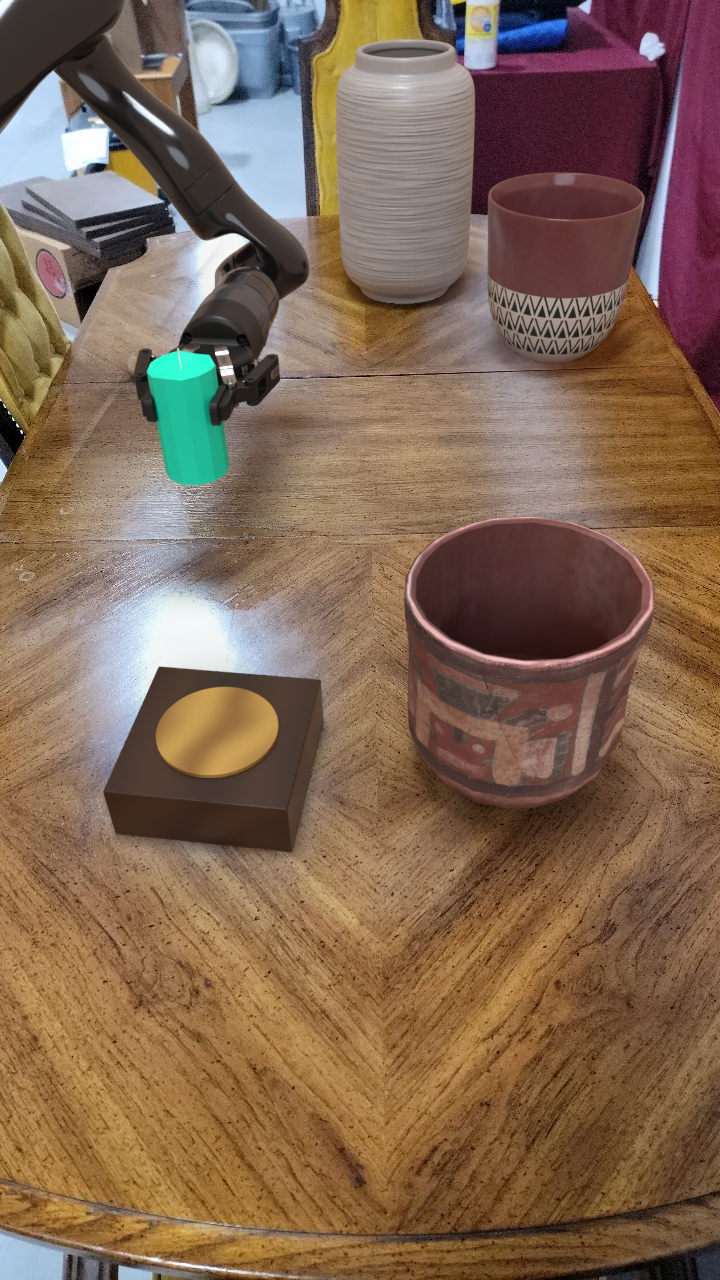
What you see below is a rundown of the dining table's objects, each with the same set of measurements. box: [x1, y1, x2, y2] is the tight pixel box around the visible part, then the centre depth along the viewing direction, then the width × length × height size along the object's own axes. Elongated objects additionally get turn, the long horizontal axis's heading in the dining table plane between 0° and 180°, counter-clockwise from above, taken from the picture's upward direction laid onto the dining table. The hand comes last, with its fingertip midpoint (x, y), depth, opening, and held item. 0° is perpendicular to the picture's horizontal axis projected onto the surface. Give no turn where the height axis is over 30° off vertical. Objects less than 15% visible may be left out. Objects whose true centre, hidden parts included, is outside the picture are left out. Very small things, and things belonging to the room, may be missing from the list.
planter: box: [487, 172, 646, 365], centre depth 132 cm, size 20×20×21 cm
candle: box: [147, 348, 230, 486], centre depth 90 cm, size 6×6×12 cm
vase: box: [335, 38, 476, 305], centre depth 148 cm, size 20×20×34 cm
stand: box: [102, 666, 325, 853], centre depth 79 cm, size 14×14×5 cm
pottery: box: [403, 515, 656, 810], centre depth 76 cm, size 18×18×18 cm
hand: (181, 414), depth 87 cm, fingers closed on candle, 5 cm apart
